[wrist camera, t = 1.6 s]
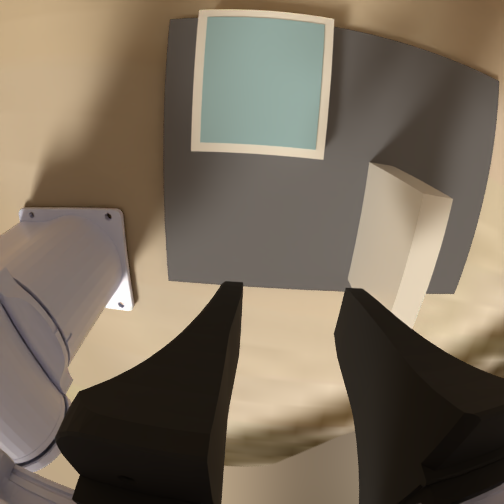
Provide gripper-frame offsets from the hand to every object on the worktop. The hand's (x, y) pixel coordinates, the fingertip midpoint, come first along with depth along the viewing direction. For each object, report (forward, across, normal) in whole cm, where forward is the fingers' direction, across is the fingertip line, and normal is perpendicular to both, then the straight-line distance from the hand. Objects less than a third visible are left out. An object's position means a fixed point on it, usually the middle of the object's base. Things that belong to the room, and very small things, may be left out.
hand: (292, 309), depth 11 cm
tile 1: (+9, +2, -8) cm, 12 cm away
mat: (+10, -4, -4) cm, 11 cm away
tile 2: (+9, -6, 0) cm, 11 cm away
